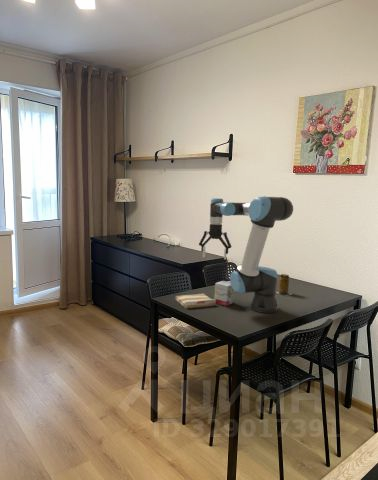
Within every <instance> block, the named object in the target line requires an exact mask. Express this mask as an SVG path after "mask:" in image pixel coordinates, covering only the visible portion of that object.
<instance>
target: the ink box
mask: <svg viewBox="0 0 378 480" xmlns="http://www.w3.org/2000/svg"><path fill="white" fill-rule="evenodd" d="M213 297H214V298H213V299H216V304H217V305H221V306H226V307H227V306H230V305H231V304H233V303H234V301H235V299H234V297H235V291H234V290H233V288H232V286H231V283H230V281H227V280H226V281H225V280H221V281H218V282H215V283H214V296H213Z"/></svg>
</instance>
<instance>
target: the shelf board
mask: <svg viewBox="0 0 378 480" xmlns="http://www.w3.org/2000/svg"><path fill="white" fill-rule="evenodd" d="M174 299H175V301H177V302H178V303H179V304H181V306H182V307H184V308H185V309H193V308H202V307H203V308H204V307H211V306H212V307H214V306H216V304H217V303H216V299H214V298H213V299H212V298H211V297H209V296H207V295H206V294H205V293H196V294H182V295H175V298H174Z"/></svg>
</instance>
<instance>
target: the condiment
mask: <svg viewBox="0 0 378 480" xmlns="http://www.w3.org/2000/svg"><path fill="white" fill-rule="evenodd" d="M279 277H280V278H278V279H279V280H278V291H276V293H275V294H278V295H283V296H286V297H287V296H292V295H293V293H291V292H289V287H290V279H289V277H290V276H289V275H288V274H286V273H283V274H280V276H279Z"/></svg>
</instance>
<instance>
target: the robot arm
mask: <svg viewBox="0 0 378 480" xmlns="http://www.w3.org/2000/svg"><path fill="white" fill-rule="evenodd" d="M209 205H210V206H209V207H210V208H209V211H210V212H209V223H210V224H209V229H208V230H209V231H207V230H205V231H204V232H203V235H202V237H201V239H200V240H199V243H198V246H200V247H201V251H200V252H202V258H206V244H207V243H209V241H210V240H219V242H221V244H222V245H223V246H224V249H223V250H224V253H223V260H226V259H227V255H228V254H229V249H231V248H232V244H231V241H230V240H229V237H228V233H227V232H226V231H225V232H223V225H222V224H223V216H225V217H227V216H228V217H230V216H248V217H249V218H250V219H249V220H250V222H251V224H252V225H251V229H250V232H249V235H248V239H247V243H246V247H245V250H244V254H243V258H242V260H241V264H239V265H238V266H237V268H236V270H235V271H232V272H231V273H230V278H229V282H230V283H231V286H232V288H233V290H234V293H236V294H246V293H253V296H252V298H251V300H250V302H249V308H250V309H251V310H252V311H255V312H258V313H264V314H273V313H276V312H278V306H279V305H278V302H277V298H276V294H277V293H276V292H277V281H278V272H277V270H276V269H274V268H270V267H266V266H259V264H260V261H261V258H262V255H263V253H264V252H263V251H264V248H265V245H266V242H267V238H268V235H269V232H270V229H272V228H274V225H275V223H276V222H277V221H286V220H288V219H289V218H290V217H291V216H292V215H293V212H294V205H293V203H292V201H291V200H290V199H288V198H286V197H282V196H266V195H264V196H257V197H255V198H253V199H252V201H250V202H229V201H228V202H226V201H225V202H224V199H223V198H215V197H213V198H211V199H210V204H209ZM207 235H209V236H208V238H207V239H206V237H207ZM222 236H223V237H224V238H223V237H222ZM205 239H206V240H205Z"/></svg>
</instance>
